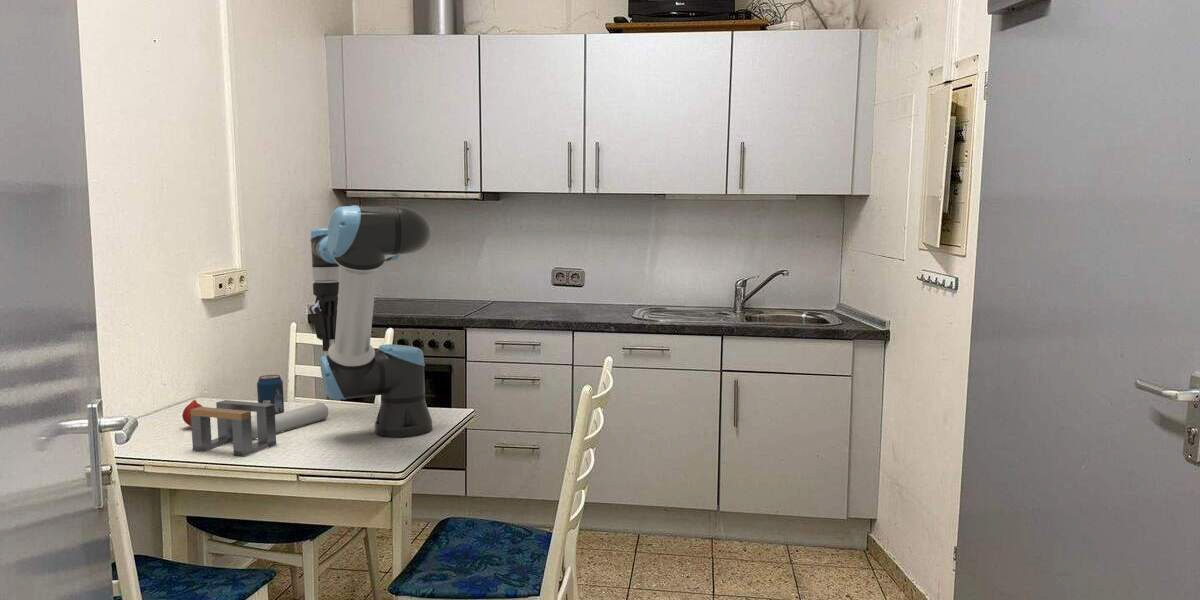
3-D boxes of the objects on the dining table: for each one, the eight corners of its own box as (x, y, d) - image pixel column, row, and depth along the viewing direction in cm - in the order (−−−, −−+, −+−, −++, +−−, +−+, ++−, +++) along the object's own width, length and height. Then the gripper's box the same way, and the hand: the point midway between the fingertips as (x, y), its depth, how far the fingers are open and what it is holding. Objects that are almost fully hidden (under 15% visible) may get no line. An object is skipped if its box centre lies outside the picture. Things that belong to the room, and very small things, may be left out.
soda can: (263, 414, 235) (261, 374, 234) (287, 413, 235) (285, 374, 234) (254, 420, 228) (252, 379, 227) (279, 419, 228) (277, 378, 227)
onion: (180, 431, 216) (178, 402, 215) (187, 426, 222) (185, 397, 221) (203, 430, 217) (201, 401, 216) (209, 424, 223) (207, 396, 222)
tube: (256, 427, 205) (330, 406, 227) (242, 418, 207) (317, 399, 229) (252, 445, 206) (326, 423, 228) (239, 437, 208) (313, 415, 230)
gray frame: (276, 444, 202) (274, 404, 201) (243, 456, 191) (241, 414, 190) (227, 439, 207) (225, 399, 206) (192, 450, 197) (190, 409, 196)
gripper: (330, 279, 238) (333, 357, 240) (300, 282, 225) (303, 364, 228) (351, 280, 235) (354, 358, 237) (322, 283, 223) (325, 366, 225)
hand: (329, 361), depth 232 cm, fingers closed
